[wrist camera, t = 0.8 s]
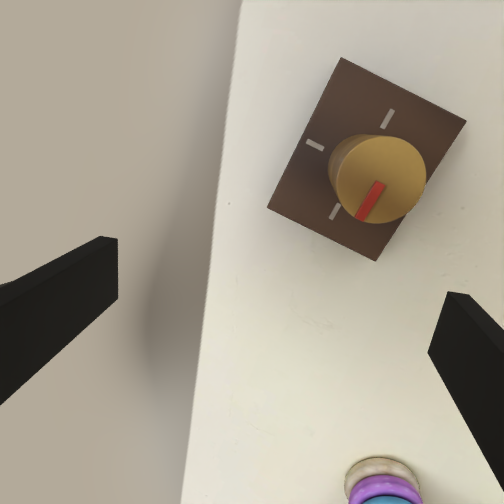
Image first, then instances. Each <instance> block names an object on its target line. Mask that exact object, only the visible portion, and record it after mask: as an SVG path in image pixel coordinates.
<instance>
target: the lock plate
mask: <svg viewBox="0 0 504 504" xmlns="http://www.w3.org/2000/svg"><path fill="white" fill-rule="evenodd" d="M465 123H466V120H464V119H462V118H460V117H458V116H456V115H454V114H452V113H450V112H449V111H447V110H445V109H443V108H441V107H439V106H437V105H435V104H433V103H431V102H429V101H427V100H425V99H423V98H421V97H419V96H417V95H415V94H413V93H411V92H409V91H407V90H405V89H403V88H401V87H399V86H397V85H395V84H393V83H391V82H389V81H387V80H385V79H383V78H381V77H379V76H377V75H375V74H373V73H371V72H369V71H368V70H366V69H364V68H362V67H360V66H358V65H356V64H354V63H352V62H350V61H348V60H346V59H344V58H342V57H341V58H340V60H339V62H338V64H337V66H336V68H335V70H334V72H333V74H332V76H331V78H330V80H329V82H328V84H327V86H326V88H325V90H324V92H323V94H322V96H321V98H320V100H319V102H318V104H317V106H316V108H315V110H314V112H313V114H312V116H311V118H310V121H309V123H308V125H307V127H306V129H305V131H304V133H303V135H302V137H301V139H300V141H299V143H298V145H297V147H296V149H295V151H294V153H293V155H292V157H291V159H290V161H289V163H288V165H287V167H286V169H285V171H284V173H283V175H282V177H281V179H280V181H279V183H278V185H277V187H276V190H275V192H274V194H273V196H272V198H271V200H270V202H269V204H268V206H267V208H269V209H271V210H273V211H275V212H277V213H279V214H281V215H283V216H285V217H287V218H289V219H291V220H293V221H295V222H297V223H299V224H301V225H303V226H305V227H307V228H309V229H311V230H313V231H315V232H317V233H319V234H321V235H323V236H325V237H327V238H329V239H331V240H333V241H335V242H337V243H339V244H341V245H343V246H345V247H347V248H349V249H351V250H353V251H355V252H357V253H359V254H361V255H363V256H365V257H367V258H369V259H371V260H373V261H376V260H377V259H378V257H379V256H380V254H381V253H382V251H383V249H384V248H385V246H386V245H387V243H388V242H389V240H390V239H391V237H392V236H393V234H394V233H395V231H396V229H397V228H398V226H399V225H400V223H401V222H402V220H403V219H404V217H405V216H406V214H405V215H404V216H402V217H400V218H398V219H396V220H394V221H391V222H387V223H379V224H378V223H367V222H362V221H360V220H358V219H356V218H355V217H353V216H352V215H351V214H349V213H348V212H347V211H346V210H345V209H344V207H343V206H342V204H341V202H340V201H339V198H338V196H337V194H336V192H335V190H334V188H333V186H332V184H331V182H330V180H329V176H328V162H329V159H330V156H331V154H332V152H333V150H334V149H335V148H336V146H337V145H338V144H339V143H341V142H342V141H343V140H345V139H347V138H349V137H351V136H354V135H359V134H368V135H380V136H391V137H396V138H400V139H402V140H405V141H406V142H408V143H410V144H411V145H412V146H413V147H414V148H415V149H416V150H417V151H418V152H419V154H420V155H421V157H422V159H423V161H424V164H425V168H426V183H427V182H428V180H429V179H430V177H431V175H432V174H433V172H434V171H435V169H436V168H437V166H438V165H439V163H440V162H441V160H442V159H443V157H444V155H445V154H446V152H447V151H448V149H449V148H450V146H451V145H452V143H453V142H454V140H455V138H456V137H457V135H458V134H459V132H460V131H461V129H462V128H463V126H464V125H465ZM426 183H425V185H426Z"/></svg>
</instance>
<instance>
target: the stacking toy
mask: <svg viewBox="0 0 504 504" xmlns="http://www.w3.org/2000/svg"><path fill="white" fill-rule="evenodd" d="M344 490H345V494H346V497H347V499H348V501H349V504H423V502H422V499H421V497H420V488H419V484H418V481H417V479H416V477H415V476H414V474H413V473H412V472H411V471H410V470H409V469H408V468H407V467H406V466H404V465H403V464H401V463H399V462H396V461H393V460H390V459H384V458H372V459H367V460H364V461H361V462H359V463H358V464H356V465H355V466H354V467H352V468H351V469H350V471H349V472H348V474H347V476H346V478H345V483H344Z"/></svg>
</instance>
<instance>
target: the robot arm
mask: <svg viewBox="0 0 504 504" xmlns="http://www.w3.org/2000/svg"><path fill="white" fill-rule="evenodd" d="M117 299H118V239H116V238H110V237H103V236H99V237H97V238H95V239H93V240H92V241H89V242H88V243H86V244H84V245H82V246H80V247H78V248H76V249H74V250H72V251H70V252H68V253H66V254H64V255H62V256H61V257H59V258H57V259H55V260H53V261H51V262H49V263H47V264H45V265H43V266H41V267H39V268H37V269H35V270H34V271H32V272H30V273H28V274H26V275H24V276H22V277H20V278H18V279H16V280H14V281H11V282H8V283H5V284H1V285H0V405H1V404H2V403H4V401H6V400H7V399H8V398H9V397H10V396H11V395H12V394H13V393H15V392H16V391H17V390H18V389H19V388H20V387H21V386H22V385H23V384H24V383H25V382H27V381H28V380H29V379H30V378H31V377H32V376H33V375H34V374H35V373H37V372H38V371H39V370H40V369H41V368H42V367H43V366H44V365H45V364H47V363H48V362H49V361H50V360H51V359H52V358H53V357H54V356H55V355H56V354H58V353H59V352H60V351H61V350H62V349H63V348H64V347H65V346H66V345H68V344H69V343H70V342H71V341H72V340H73V339H74V338H75V337H76V336H77V335H79V334H80V333H81V332H82V331H83V330H84V329H85V328H86V327H87V326H88V325H89V324H90V323H92V322H93V321H94V320H95V319H96V318H97V317H98V316H100V314H102V313H103V312H104V311H105V310H106V309H107V308H108V307H109V306H110V305H111V304H113V303H114V302H115V301H116V300H117ZM428 355H429V356H430V358H431V360H432V362H433V364H434V366H435V367H436V369H437V371H438V373H439V375H440V377H441V378H442V380H443V382H444V384H445V386H446V387H447V389H448V391H449V393H450V395H451V397H452V398H453V400H454V402H455V404H456V406H457V407H458V409H459V411H460V413H461V415H462V417H463V418H464V420H465V422H466V424H467V426H468V428H469V429H470V431H471V433H472V435H473V437H474V438H475V440H476V442H477V444H478V446H479V448H480V449H481V451H482V453H483V455H484V457H485V459H486V460H487V462H488V464H489V466H490V468H491V469H492V471H493V473H494V475H495V477H496V479H497V480H498V482H499V484H500V486H501V488H502V489H503V491H504V330H503V329H502V328H501V327H500V326H499V325H498V324H497V323H496V322H495V321H494V320H493V318H492V317H491V316H490V315H489V314H488V313H487V312H486V311H485V310H484V309H483V308H482V307H481V306H480V305H479V304H478V303H477V302H476V301H475V300H474V299H473V298H472V297H471V296H470V295H468V294H462V293H456V292H449V291H448V292H447V295H446V298H445V301H444V304H443V307H442V310H441V313H440V316H439V319H438V322H437V325H436V328H435V331H434V334H433V337H432V340H431V343H430V346H429V349H428Z"/></svg>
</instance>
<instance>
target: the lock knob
mask: <svg viewBox="0 0 504 504" xmlns="http://www.w3.org/2000/svg"><path fill="white" fill-rule="evenodd" d="M328 176H329V180H330V182H331V184H332V186H333V188H334V190H335V192H336V194H337V196H338V198H339V201H340V202H341V204H342V206H343V207H344V209H345V210H346V211H347V212H348V213H349V214H351V215H352V216H353V217H355V218H356V219H358V220H360V221H362V222H367V223H378V224H379V223H387V222H391V221H394V220H396V219H398V218H400V217H402V216H404V215H405V214H407V213H408V212H409V211H410V210H411V209H412V208H413V207H414V206H415V205H416V204H417V202H418V201H419V199H420V197H421V196H422V193H423V191H424V188H425V183H426V168H425V164H424V161H423V159H422V157H421V155H420V154H419V152H418V151H417V150H416V149H415V148H414V147H413V146H412V145H411V144H410V143H408V142H406V141H405V140H402V139H400V138H396V137H391V136H380V135H368V134H359V135H354V136H351V137H349V138H347V139H345V140H343V141H342V142H341V143H339V144H338V145H337V146H336V148H335V149H334V150H333V152H332V154H331V156H330V159H329V162H328Z"/></svg>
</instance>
